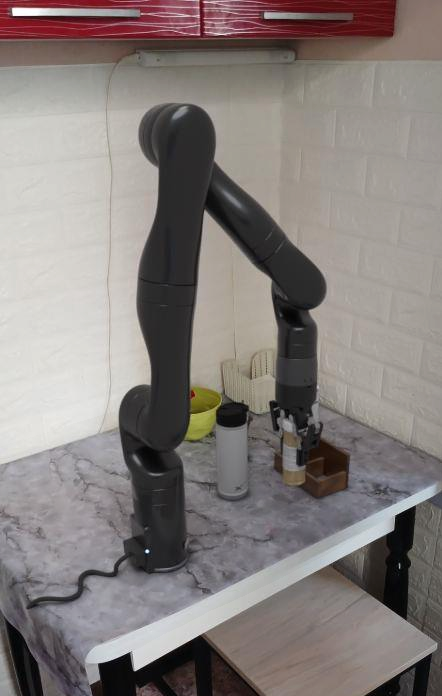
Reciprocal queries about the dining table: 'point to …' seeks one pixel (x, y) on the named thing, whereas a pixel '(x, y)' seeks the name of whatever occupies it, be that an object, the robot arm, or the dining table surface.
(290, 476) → the brown spice jar
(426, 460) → the dining table surface
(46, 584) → the dining table surface
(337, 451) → the spice rack
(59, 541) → the dining table surface
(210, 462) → the dining table surface
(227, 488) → the travel mug
